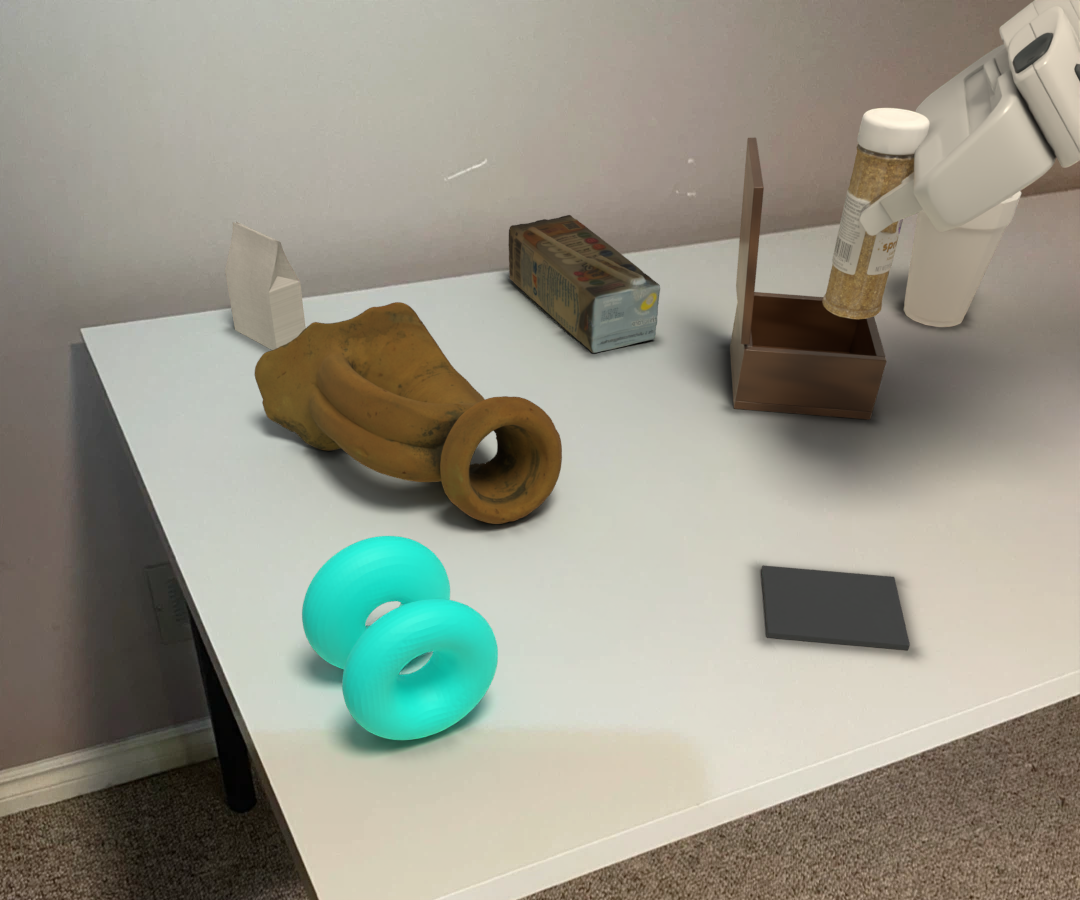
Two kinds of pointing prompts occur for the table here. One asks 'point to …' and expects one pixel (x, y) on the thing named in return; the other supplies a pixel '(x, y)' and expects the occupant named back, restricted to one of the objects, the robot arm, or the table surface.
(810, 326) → the walnut box
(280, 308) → the white gable top carton
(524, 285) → the beverage carton
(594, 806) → the table surface
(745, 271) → the box lid
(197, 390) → the table surface
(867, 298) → the spice jar
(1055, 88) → the robot arm
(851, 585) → the felt mat
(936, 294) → the foam cup
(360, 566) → the donuts
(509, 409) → the brown looped sculpture
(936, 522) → the table surface
